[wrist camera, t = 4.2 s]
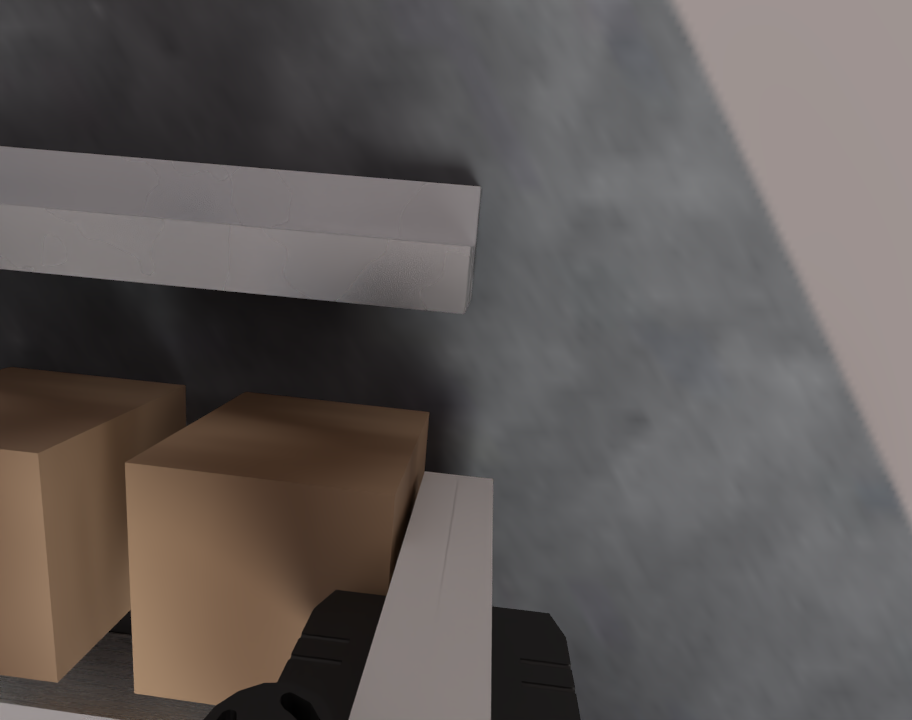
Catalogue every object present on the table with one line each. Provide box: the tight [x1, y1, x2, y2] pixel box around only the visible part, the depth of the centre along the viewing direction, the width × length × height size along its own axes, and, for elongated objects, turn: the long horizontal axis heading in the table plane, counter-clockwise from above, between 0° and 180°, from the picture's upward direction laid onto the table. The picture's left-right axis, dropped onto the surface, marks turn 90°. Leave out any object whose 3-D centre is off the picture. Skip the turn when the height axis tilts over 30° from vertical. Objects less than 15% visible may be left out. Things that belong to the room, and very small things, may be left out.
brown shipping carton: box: [125, 392, 429, 705], centre depth 12 cm, size 4×4×4 cm
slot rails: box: [0, 146, 481, 720], centre depth 13 cm, size 14×15×2 cm
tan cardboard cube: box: [0, 367, 186, 683], centre depth 12 cm, size 4×4×4 cm
